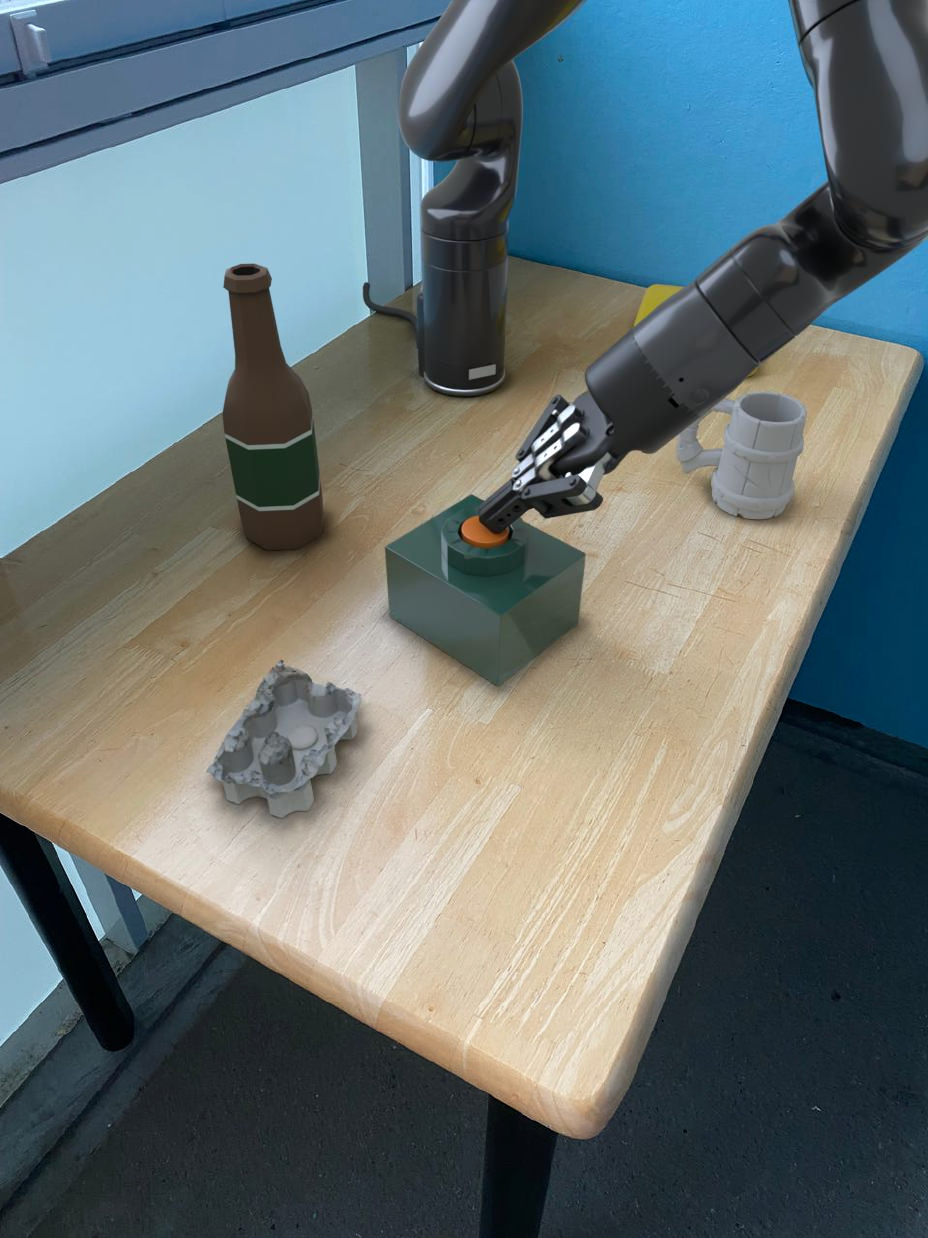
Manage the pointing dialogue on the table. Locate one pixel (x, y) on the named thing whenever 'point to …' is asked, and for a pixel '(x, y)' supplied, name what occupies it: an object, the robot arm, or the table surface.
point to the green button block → (484, 591)
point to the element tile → (657, 301)
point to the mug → (751, 453)
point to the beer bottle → (268, 424)
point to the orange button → (482, 534)
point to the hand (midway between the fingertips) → (486, 522)
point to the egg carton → (285, 740)
